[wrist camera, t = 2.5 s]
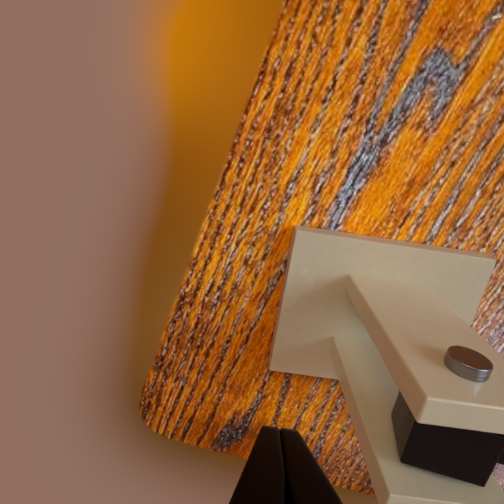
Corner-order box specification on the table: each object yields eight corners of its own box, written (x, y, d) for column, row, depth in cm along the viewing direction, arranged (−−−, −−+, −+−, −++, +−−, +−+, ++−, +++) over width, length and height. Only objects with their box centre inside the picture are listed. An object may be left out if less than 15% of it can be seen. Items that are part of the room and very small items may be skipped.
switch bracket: (483, 252, 20) (714, 377, 10) (434, 381, 23) (573, 579, 13) (294, 224, 20) (331, 323, 10) (268, 358, 23) (275, 543, 13)
